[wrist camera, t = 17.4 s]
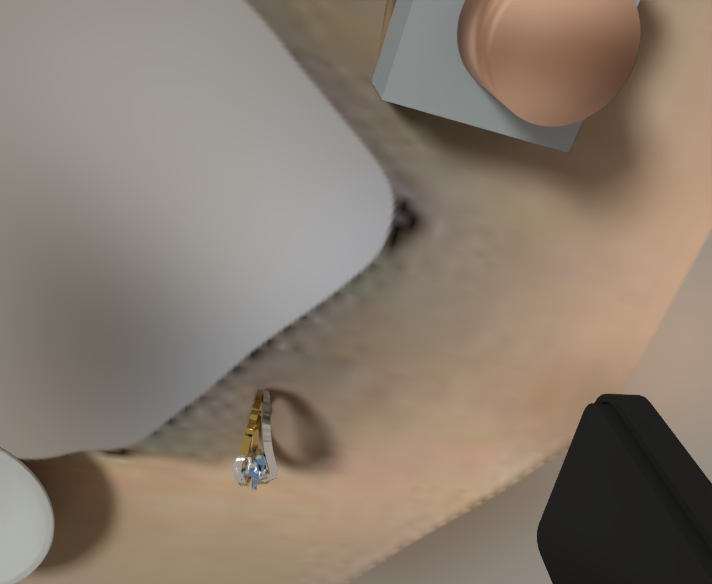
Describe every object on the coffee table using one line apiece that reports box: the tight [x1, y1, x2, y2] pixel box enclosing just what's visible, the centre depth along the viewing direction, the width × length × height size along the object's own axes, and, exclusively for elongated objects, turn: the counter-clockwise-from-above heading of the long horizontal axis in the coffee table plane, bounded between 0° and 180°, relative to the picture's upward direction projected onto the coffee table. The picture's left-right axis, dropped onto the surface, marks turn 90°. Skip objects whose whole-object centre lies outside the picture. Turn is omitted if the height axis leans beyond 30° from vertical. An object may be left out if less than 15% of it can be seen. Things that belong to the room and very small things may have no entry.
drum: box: [457, 0, 641, 127], centre depth 30 cm, size 6×6×6 cm
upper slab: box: [372, 0, 640, 153], centre depth 34 cm, size 11×11×4 cm
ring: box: [233, 389, 278, 491], centre depth 49 cm, size 7×3×8 cm, turn 164°
